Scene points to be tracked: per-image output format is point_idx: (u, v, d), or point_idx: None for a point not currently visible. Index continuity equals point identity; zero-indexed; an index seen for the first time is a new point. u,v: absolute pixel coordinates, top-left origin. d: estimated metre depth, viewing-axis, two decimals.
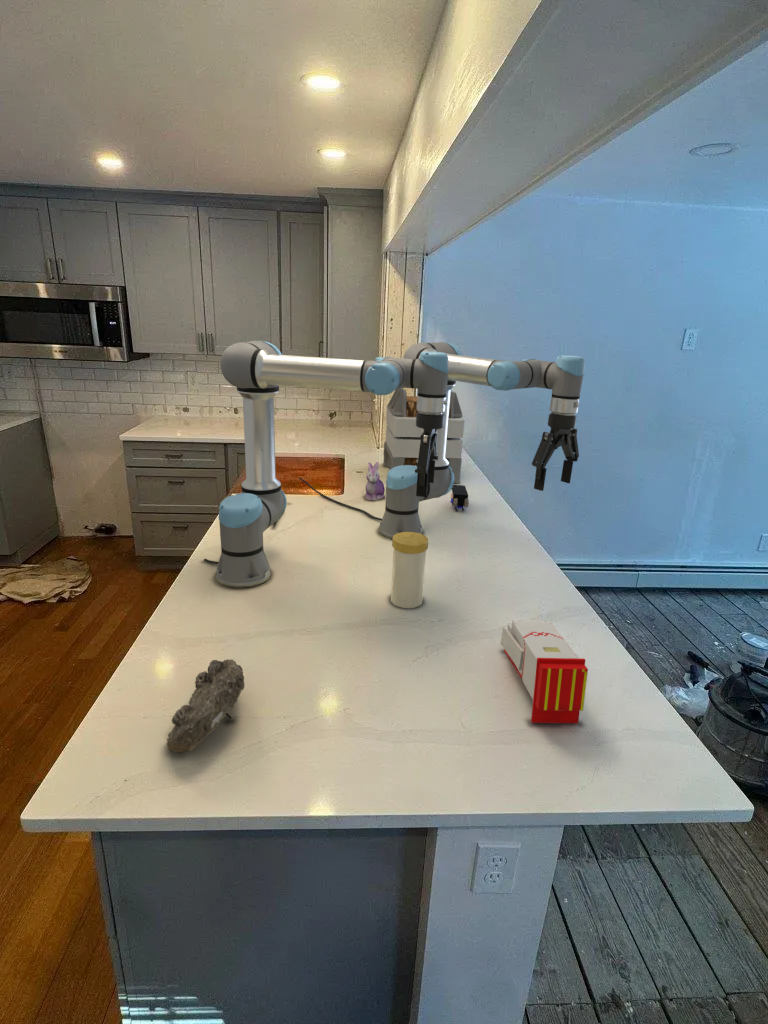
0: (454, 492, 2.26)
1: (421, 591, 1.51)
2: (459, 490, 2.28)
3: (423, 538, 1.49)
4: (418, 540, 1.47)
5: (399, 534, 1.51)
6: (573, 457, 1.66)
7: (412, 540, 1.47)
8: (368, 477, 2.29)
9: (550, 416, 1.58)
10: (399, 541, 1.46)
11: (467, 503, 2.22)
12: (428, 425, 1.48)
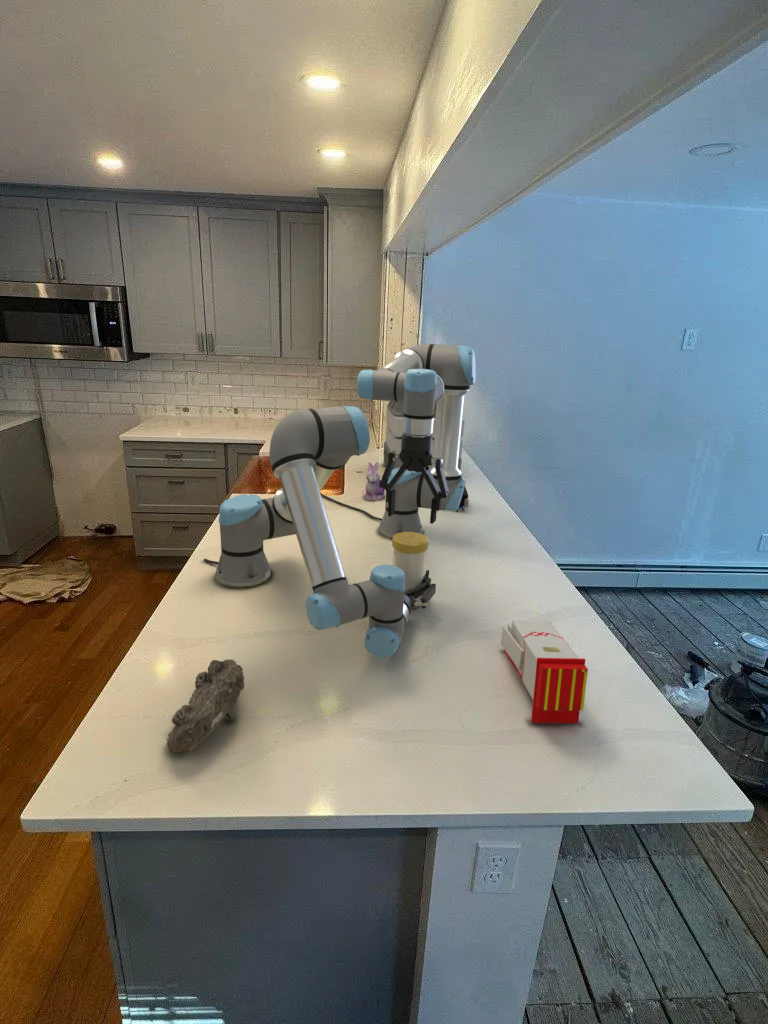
0: None
1: None
2: None
3: (423, 538, 1.49)
4: (418, 540, 1.47)
5: (399, 534, 1.51)
6: None
7: (412, 540, 1.47)
8: (368, 477, 2.29)
9: (427, 441, 1.37)
10: (399, 541, 1.46)
11: (467, 503, 2.22)
12: None
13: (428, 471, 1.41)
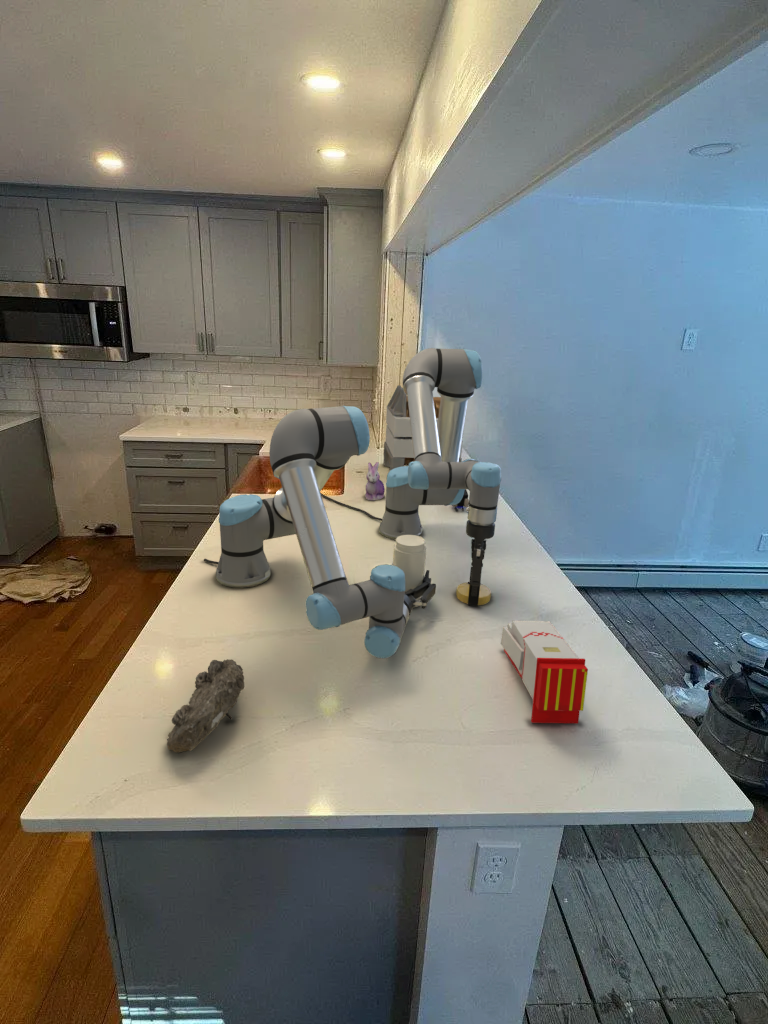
0: None
1: None
2: None
3: (464, 592, 1.56)
4: (465, 589, 1.57)
5: (487, 592, 1.56)
6: None
7: None
8: (368, 477, 2.29)
9: None
10: None
11: (467, 503, 2.22)
12: None
13: None
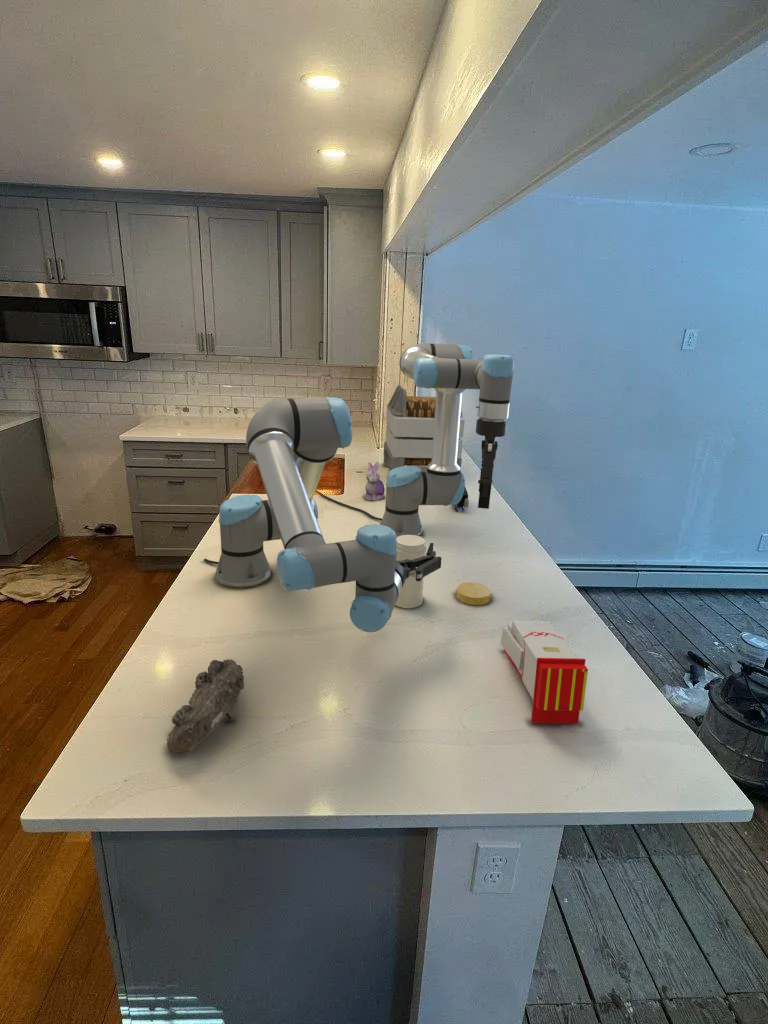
0: None
1: (421, 591, 1.51)
2: None
3: (464, 592, 1.56)
4: (465, 589, 1.57)
5: (487, 592, 1.56)
6: None
7: (470, 587, 1.58)
8: (368, 477, 2.29)
9: None
10: (478, 584, 1.60)
11: (467, 503, 2.22)
12: None
13: None
